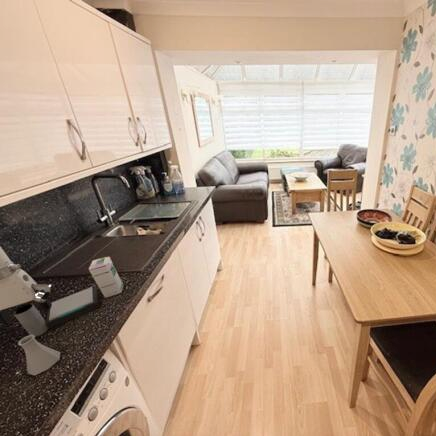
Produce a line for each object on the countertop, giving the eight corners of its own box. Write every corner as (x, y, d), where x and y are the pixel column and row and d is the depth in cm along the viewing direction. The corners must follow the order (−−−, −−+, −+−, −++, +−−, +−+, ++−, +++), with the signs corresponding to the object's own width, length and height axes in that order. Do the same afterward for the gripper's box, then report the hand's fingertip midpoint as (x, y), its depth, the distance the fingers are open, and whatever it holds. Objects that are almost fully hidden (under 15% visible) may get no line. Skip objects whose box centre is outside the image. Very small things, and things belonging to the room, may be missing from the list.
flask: (24, 367, 68) (4, 343, 64) (57, 347, 73) (40, 324, 69) (31, 381, 64) (10, 357, 60) (64, 358, 70) (47, 335, 65)
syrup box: (122, 292, 94) (107, 262, 88) (104, 298, 92) (87, 268, 86) (123, 284, 99) (109, 255, 93) (106, 289, 96) (91, 260, 90)
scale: (49, 328, 80) (44, 322, 79) (52, 308, 89) (48, 302, 87) (99, 306, 88) (96, 300, 87) (97, 290, 96) (94, 284, 95)
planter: (31, 331, 80) (14, 308, 75) (49, 323, 82) (33, 301, 78) (30, 339, 77) (11, 316, 72) (48, 331, 79) (32, 308, 75)
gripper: (40, 257, 75) (66, 297, 83) (-37, 277, 69) (-1, 319, 76) (29, 269, 69) (59, 312, 77) (-56, 292, 63) (-15, 336, 70)
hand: (29, 315), depth 76 cm, fingers open, 9 cm apart
